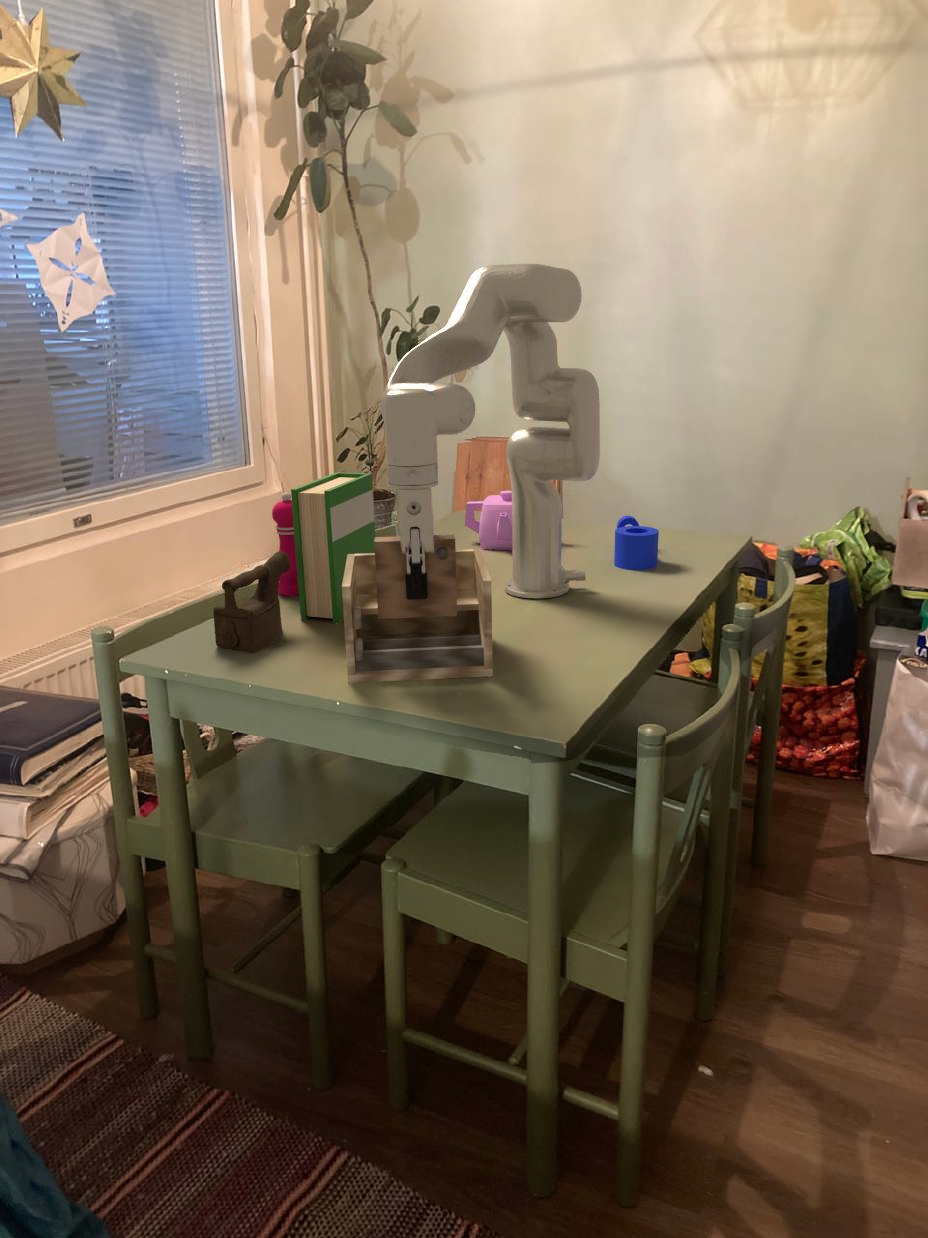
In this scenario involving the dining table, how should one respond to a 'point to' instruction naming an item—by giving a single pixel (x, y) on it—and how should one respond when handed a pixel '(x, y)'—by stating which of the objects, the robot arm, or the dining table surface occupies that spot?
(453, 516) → the dining table surface
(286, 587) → the pepper mill
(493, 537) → the teakettle
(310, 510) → the hardback book
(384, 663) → the wooden shelf rack
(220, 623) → the clothes iron
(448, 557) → the wooden block
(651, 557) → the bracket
